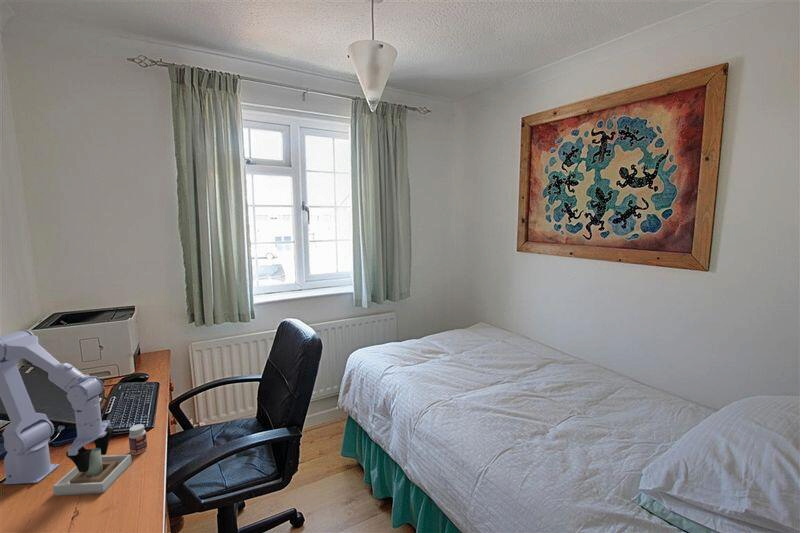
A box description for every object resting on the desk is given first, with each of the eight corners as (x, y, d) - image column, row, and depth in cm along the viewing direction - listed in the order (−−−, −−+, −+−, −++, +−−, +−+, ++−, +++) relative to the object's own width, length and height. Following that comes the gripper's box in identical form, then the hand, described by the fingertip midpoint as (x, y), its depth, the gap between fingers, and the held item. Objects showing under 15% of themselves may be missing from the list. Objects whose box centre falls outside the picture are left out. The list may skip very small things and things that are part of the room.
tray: (54, 495, 106) (52, 486, 105) (87, 465, 119) (86, 456, 118) (103, 493, 107) (102, 483, 106) (131, 463, 120) (130, 454, 119)
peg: (82, 481, 111) (79, 456, 110) (93, 472, 115) (90, 447, 113) (96, 481, 111) (93, 456, 110) (106, 472, 115) (104, 447, 114)
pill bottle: (138, 456, 123) (136, 432, 122) (126, 454, 124) (124, 430, 123) (151, 447, 128) (148, 424, 127) (139, 445, 129) (136, 422, 128)
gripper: (85, 433, 103) (90, 478, 105) (119, 406, 118) (123, 446, 120) (57, 434, 103) (62, 480, 105) (95, 407, 117) (99, 447, 119)
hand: (93, 462), depth 112 cm, fingers open, 7 cm apart
